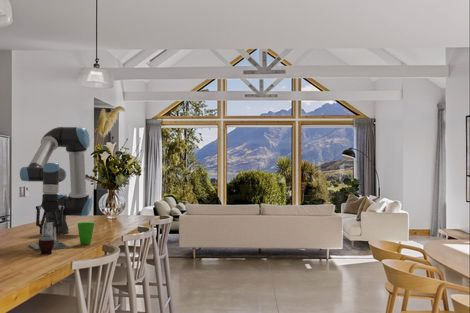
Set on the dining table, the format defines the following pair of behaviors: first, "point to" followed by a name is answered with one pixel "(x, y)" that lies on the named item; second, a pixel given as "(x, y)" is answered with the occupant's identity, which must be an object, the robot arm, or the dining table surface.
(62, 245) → the duct flange
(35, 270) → the dining table surface
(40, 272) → the dining table surface
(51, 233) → the elbow
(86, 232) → the cup
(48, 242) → the mate gourd
